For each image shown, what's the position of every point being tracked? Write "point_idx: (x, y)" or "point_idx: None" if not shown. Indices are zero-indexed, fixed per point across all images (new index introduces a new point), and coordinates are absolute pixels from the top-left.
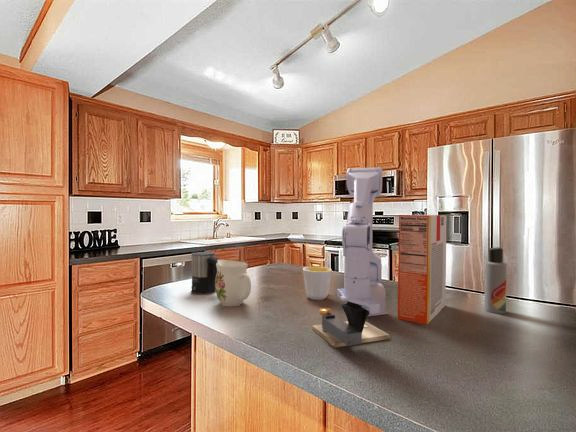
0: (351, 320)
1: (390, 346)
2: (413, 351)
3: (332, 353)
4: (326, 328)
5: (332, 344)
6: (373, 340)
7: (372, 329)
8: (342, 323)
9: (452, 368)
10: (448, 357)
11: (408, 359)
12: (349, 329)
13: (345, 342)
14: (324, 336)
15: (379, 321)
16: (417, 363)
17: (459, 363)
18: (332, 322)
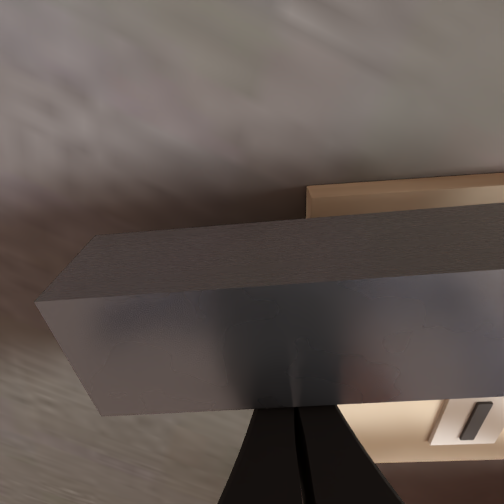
0: (268, 468)
1: (230, 420)
2: (168, 453)
3: (217, 125)
4: (499, 213)
5: (341, 186)
6: None
7: (393, 444)
8: (368, 372)
9: (32, 472)
10: (111, 494)
11: (100, 417)
12: (180, 365)
13: (120, 241)
14: (489, 181)
15: (480, 484)
16: (65, 424)
17: (69, 494)
18: (459, 299)
